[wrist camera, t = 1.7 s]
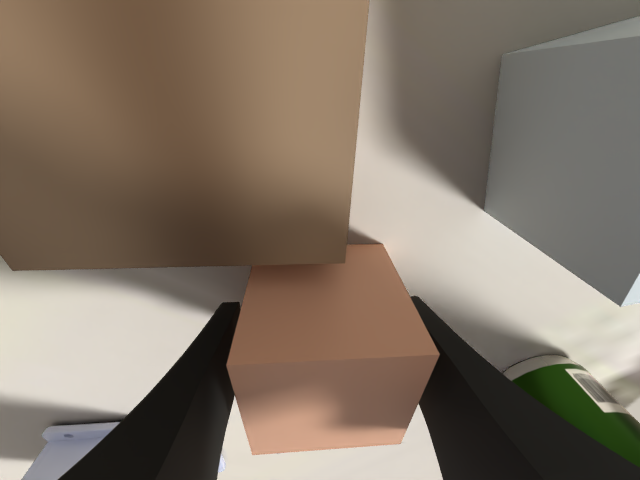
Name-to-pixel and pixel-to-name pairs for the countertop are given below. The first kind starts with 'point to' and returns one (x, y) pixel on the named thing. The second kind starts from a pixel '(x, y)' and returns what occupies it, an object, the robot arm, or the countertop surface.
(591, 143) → the slate cube
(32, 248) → the walnut slab
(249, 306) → the terracotta cube
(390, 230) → the countertop surface
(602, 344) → the countertop surface
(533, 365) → the beer can
